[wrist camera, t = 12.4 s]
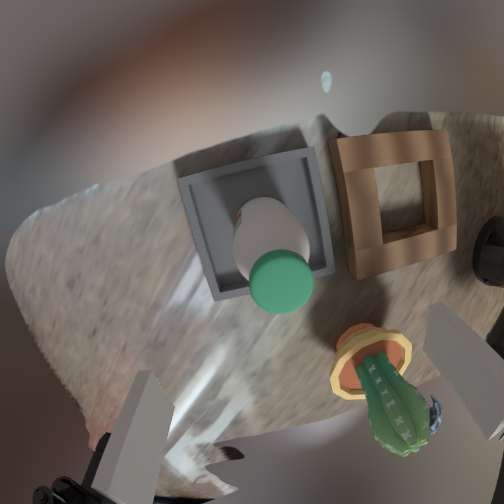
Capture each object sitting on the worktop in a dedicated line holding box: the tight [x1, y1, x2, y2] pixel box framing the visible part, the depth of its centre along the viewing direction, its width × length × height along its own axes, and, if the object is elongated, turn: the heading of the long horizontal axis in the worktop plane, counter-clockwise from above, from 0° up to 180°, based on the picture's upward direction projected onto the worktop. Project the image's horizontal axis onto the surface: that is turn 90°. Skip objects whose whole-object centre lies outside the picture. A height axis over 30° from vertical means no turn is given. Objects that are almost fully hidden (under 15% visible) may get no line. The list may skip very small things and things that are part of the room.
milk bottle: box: [233, 197, 314, 314], centre depth 28 cm, size 8×8×20 cm
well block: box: [328, 130, 457, 280], centre depth 35 cm, size 20×20×4 cm
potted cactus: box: [330, 323, 443, 457], centre depth 34 cm, size 15×15×25 cm
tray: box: [177, 146, 336, 302], centre depth 37 cm, size 18×18×3 cm
